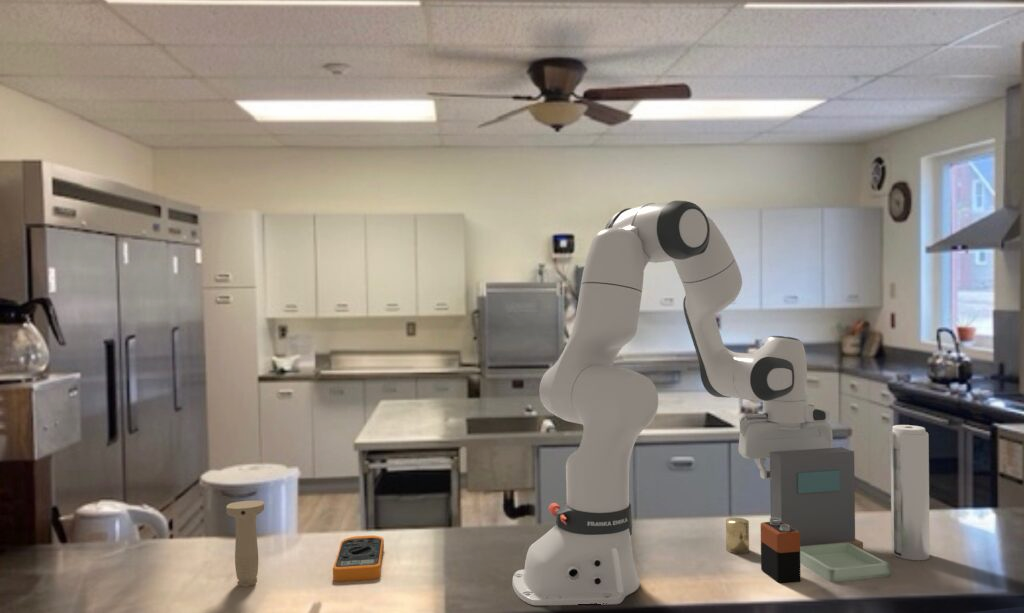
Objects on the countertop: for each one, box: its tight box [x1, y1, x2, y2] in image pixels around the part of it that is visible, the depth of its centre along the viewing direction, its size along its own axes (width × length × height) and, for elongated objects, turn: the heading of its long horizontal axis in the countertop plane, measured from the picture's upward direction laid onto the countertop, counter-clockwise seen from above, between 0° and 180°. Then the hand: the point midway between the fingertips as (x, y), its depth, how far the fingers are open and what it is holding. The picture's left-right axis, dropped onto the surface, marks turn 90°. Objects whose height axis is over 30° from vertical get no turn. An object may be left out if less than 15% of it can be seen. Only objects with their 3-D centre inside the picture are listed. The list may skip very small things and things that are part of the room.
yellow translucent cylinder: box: [725, 517, 750, 555], centre depth 146 cm, size 4×4×6 cm
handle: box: [225, 500, 265, 588], centre depth 133 cm, size 5×6×15 cm
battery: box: [760, 517, 802, 584], centre depth 133 cm, size 4×7×10 cm, turn 9°
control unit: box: [769, 446, 864, 550], centre depth 146 cm, size 18×6×20 cm, turn 101°
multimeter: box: [332, 535, 385, 583], centre depth 142 cm, size 9×18×3 cm, turn 7°
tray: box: [800, 542, 892, 583], centre depth 137 cm, size 12×12×2 cm
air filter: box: [889, 424, 931, 562], centre depth 142 cm, size 6×6×25 cm
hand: (785, 476), depth 156 cm, fingers open, 8 cm apart
